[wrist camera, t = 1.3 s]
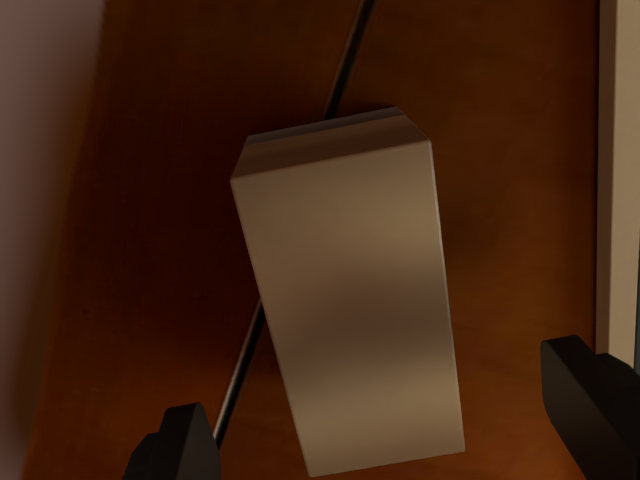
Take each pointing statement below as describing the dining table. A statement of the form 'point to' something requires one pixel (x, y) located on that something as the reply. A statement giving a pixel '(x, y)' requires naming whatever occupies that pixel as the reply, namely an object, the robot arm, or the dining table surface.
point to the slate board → (619, 183)
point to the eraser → (354, 287)
